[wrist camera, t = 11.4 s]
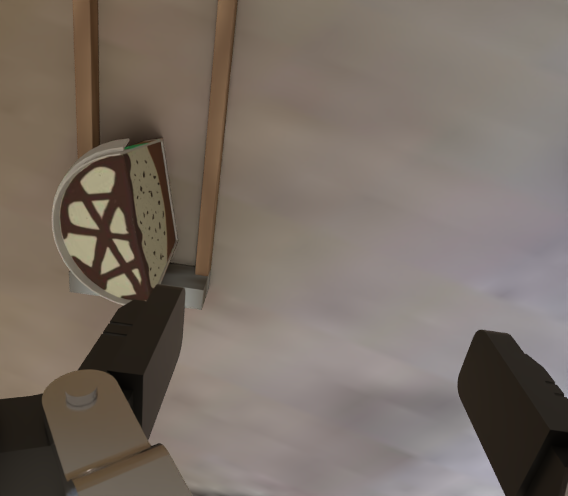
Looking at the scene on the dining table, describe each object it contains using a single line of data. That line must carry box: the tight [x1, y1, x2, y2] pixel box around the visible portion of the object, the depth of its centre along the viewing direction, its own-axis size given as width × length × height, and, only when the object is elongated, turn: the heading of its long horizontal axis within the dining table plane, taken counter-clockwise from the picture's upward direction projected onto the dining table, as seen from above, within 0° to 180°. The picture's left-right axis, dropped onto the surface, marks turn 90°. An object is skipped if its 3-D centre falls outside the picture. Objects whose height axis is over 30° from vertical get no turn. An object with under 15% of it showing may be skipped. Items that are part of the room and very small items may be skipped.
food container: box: [52, 138, 178, 305], centre depth 35 cm, size 12×6×10 cm, turn 2°
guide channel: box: [69, 0, 238, 310], centre depth 35 cm, size 11×32×4 cm, turn 171°
